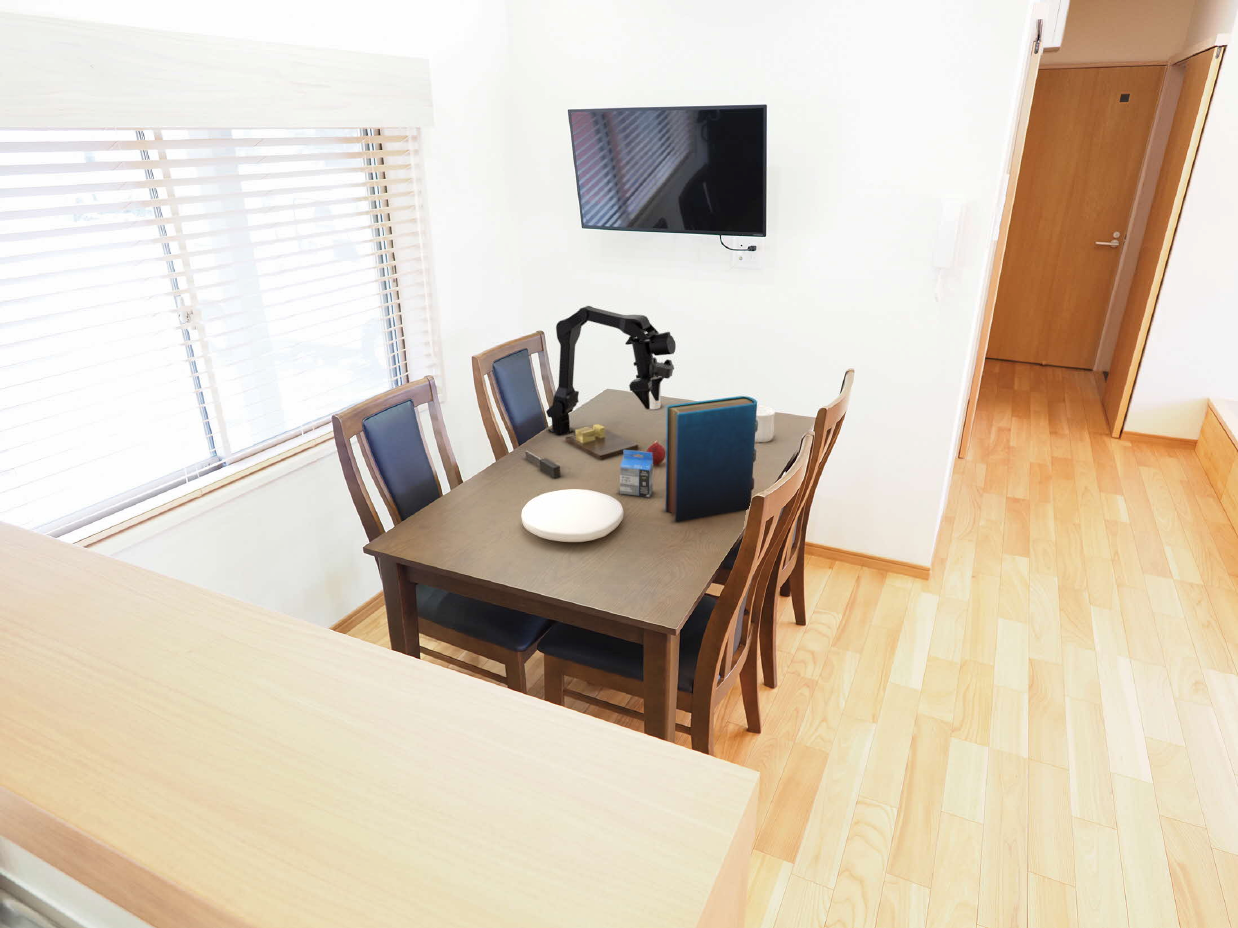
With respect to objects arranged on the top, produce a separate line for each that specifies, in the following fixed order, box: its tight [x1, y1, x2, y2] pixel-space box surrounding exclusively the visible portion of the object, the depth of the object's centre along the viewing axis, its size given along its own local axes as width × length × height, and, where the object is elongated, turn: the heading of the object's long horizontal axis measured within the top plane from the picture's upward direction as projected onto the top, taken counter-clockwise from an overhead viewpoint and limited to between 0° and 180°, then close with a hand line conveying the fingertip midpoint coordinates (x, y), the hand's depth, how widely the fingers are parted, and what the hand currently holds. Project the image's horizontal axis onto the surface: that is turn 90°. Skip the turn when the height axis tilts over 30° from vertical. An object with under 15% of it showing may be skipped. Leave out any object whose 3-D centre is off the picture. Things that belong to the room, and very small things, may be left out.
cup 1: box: [649, 382, 662, 410], centre depth 291 cm, size 5×5×10 cm
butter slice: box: [592, 423, 606, 438], centre depth 261 cm, size 4×2×4 cm, turn 37°
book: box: [664, 395, 758, 523], centre depth 209 cm, size 24×9×30 cm, turn 110°
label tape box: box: [619, 450, 654, 498], centre depth 222 cm, size 9×4×12 cm, turn 73°
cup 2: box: [755, 405, 776, 443], centre depth 261 cm, size 10×10×10 cm
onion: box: [646, 440, 666, 466], centre depth 241 cm, size 6×6×8 cm
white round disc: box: [520, 488, 625, 543], centre depth 205 cm, size 28×6×27 cm
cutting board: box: [564, 426, 639, 461], centre depth 257 cm, size 20×15×5 cm
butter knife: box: [525, 450, 561, 479], centre depth 240 cm, size 18×2×4 cm, turn 37°
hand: (652, 404), depth 249 cm, fingers open, 9 cm apart
